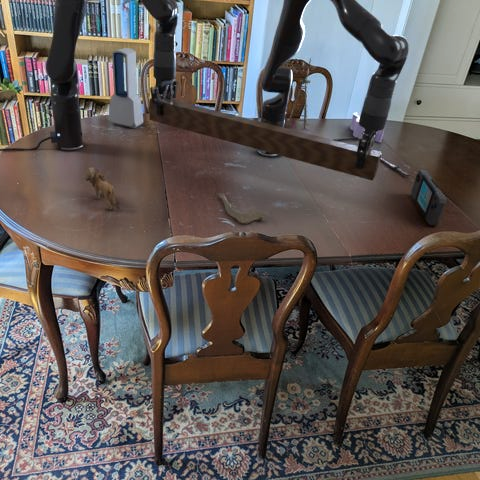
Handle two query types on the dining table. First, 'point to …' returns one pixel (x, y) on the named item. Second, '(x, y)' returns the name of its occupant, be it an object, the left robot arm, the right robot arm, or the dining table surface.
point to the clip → (359, 129)
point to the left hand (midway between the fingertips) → (164, 113)
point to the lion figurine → (101, 186)
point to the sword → (395, 167)
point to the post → (267, 137)
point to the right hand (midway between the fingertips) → (360, 165)
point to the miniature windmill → (301, 95)
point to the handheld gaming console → (428, 197)
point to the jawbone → (239, 215)
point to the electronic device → (125, 102)
